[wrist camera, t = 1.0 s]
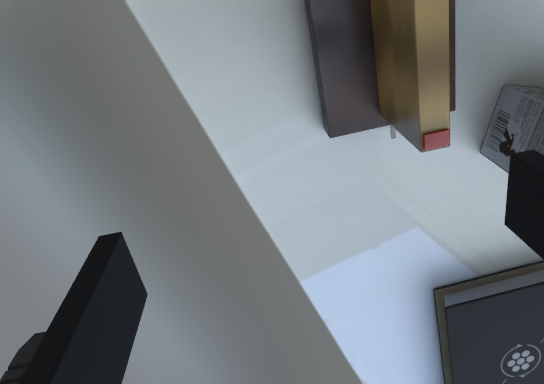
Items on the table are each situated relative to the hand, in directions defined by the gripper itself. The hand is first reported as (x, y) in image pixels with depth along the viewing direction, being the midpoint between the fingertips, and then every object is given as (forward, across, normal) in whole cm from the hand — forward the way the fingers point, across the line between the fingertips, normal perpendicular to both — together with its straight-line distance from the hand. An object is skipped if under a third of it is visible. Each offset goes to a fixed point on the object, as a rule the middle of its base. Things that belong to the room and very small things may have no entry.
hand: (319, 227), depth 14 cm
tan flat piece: (+19, +8, +3) cm, 21 cm away
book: (+21, +21, -34) cm, 45 cm away
